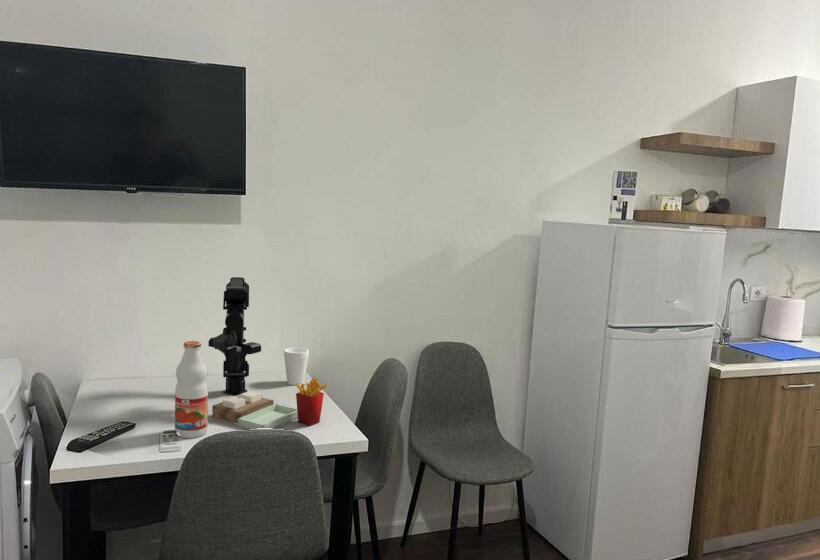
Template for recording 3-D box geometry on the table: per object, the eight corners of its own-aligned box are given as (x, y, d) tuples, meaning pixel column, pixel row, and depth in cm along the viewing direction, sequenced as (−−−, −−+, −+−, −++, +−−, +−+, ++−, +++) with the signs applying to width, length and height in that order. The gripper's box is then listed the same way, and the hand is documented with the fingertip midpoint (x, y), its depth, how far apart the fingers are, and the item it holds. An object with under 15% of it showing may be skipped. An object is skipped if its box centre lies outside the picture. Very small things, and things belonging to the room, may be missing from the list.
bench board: (212, 417, 215) (212, 405, 214) (245, 405, 229) (246, 393, 228) (240, 424, 209) (241, 412, 209) (273, 411, 224) (273, 400, 223)
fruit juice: (213, 429, 204) (214, 340, 201) (198, 440, 195) (199, 347, 191) (184, 426, 206) (185, 338, 202) (168, 436, 196) (169, 344, 193)
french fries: (293, 423, 214) (295, 377, 212) (310, 416, 221) (312, 372, 219) (315, 429, 209) (316, 383, 207) (331, 422, 216) (333, 377, 214)
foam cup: (305, 387, 254) (306, 353, 252) (281, 385, 254) (282, 352, 252) (309, 380, 263) (310, 348, 262) (286, 379, 263) (287, 347, 262)
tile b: (222, 406, 214) (222, 400, 214) (233, 402, 219) (233, 396, 218) (234, 409, 212) (234, 403, 212) (245, 405, 216) (245, 399, 216)
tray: (237, 426, 208) (237, 418, 208) (276, 410, 225) (276, 403, 225) (264, 433, 203) (264, 425, 203) (301, 416, 220) (301, 409, 220)
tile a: (239, 400, 221) (239, 394, 221) (249, 396, 226) (250, 390, 226) (251, 402, 219) (251, 397, 219) (261, 399, 224) (261, 393, 223)
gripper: (196, 324, 220) (196, 370, 222) (239, 332, 211) (238, 379, 213) (220, 319, 230) (219, 363, 232) (262, 327, 221) (261, 372, 223)
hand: (234, 369), depth 225 cm, fingers closed
